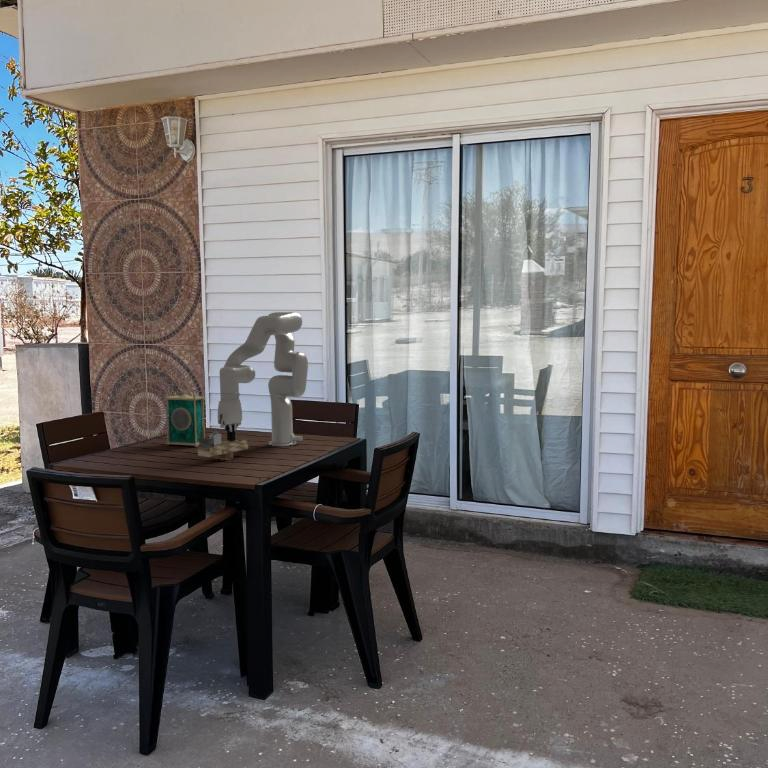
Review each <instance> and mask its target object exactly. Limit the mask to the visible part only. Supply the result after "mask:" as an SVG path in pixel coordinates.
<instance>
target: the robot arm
mask: <svg viewBox="0 0 768 768" xmlns="http://www.w3.org/2000/svg"><path fill="white" fill-rule="evenodd" d="M302 325H303V318H302V316H301V314H299V312H295V311H281V312H280V311H277V312H271V313H269V314H267V315H262V316H259V317H257V318H256V320H255V322H254V324H253V326H252V328H251V330H250V331H249V334H248V336H247V338H246V340H245V342H244V343H243V344H242V345H240V346H239V347H237V348H236V349H235V350H234V351H232V353H231V354H230V355H229V356H228V358H227V359H226V361H225V363H224V366H223V367H221V368H220V369H219V392H220V393H219V395H220V400H219V401H218V405H217V425H218V424H219V427H220V429H224V430H225V431H226V435H227V436H226V440H227V441H235V440H236V431H237V428H238V427H239V426H241V425H242V422H243V409H242V403H241V399H240V396H241V393H240V392H239V391H240V389H239V388H240V386H239V384H250V383H251V382H253V380H254V379H255V378H256V371H255V368H254V367H252V366H250V365H245V364H244V365H243V363H244V362H245V361H247V360H248V359H250V358H253V357H256V356H258V355H260V354H261V353H263V352H264V350H265V348H266V346H267V344H268V341H269V340H270V338H271V336H274V338H275V339H274V340H275V349H274V350H275V351H274V359H273V367H274V370H275V371H277V372H279V373H291V375H287V374H286V375H285V374H280V375H279V374H276V375H274V376H272V377H271V378H270V379H269V381H268V383H267V386H268V387H267V388H268V393H269V397H270V405H271V406H270V408H271V409H270V413H271V416H270V417H271V418H270V419H271V420H270V421H271V440H270V441H268V445H269V446H271V445H272V446H271V447H291V446H295V445H297V441H303V436H302V435H295V433H294V429H293V424H294V423H293V404H292V400H291V399H290V398H299V397H302V396H303V395H305V394H304V393H305V392H306V389H307V380H308V370H309V362H308V358H307V355H306V354H305V353H304V352H301V351H295V337H294V336H293V334H292V333H296V332H298V331H299V330H300V329H301V328H302ZM290 445H291V446H290Z"/></svg>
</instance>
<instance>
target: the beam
mask: <svg viewBox="0 0 768 768" xmlns="http://www.w3.org/2000/svg"><path fill="white" fill-rule="evenodd" d="M248 449H249V440H247V439H239V438H235V441H228V440H227V441H221V445H219V446H214V447H212V439H210V437H209V438H208V437H205V438H199V445H198V447H197V456H198V457H205V458H210V457H211V458H212V457H214V458H215V459H214V460H217V459H221V460H220V461H223V460H228V461H231V459H233V460H234V453H235V452H238V451H244V450H248Z"/></svg>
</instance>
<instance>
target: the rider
mask: <svg viewBox="0 0 768 768" xmlns="http://www.w3.org/2000/svg"><path fill="white" fill-rule="evenodd" d="M209 439H212V447H214V446H219V445H221V442H222V433H219V431H212V434H211V433H210V434H209Z"/></svg>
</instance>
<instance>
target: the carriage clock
mask: <svg viewBox="0 0 768 768" xmlns="http://www.w3.org/2000/svg"><path fill="white" fill-rule="evenodd" d="M184 381H185V382H186V384H187V385H188V388H187V390H182V389H181V383H182V382H184ZM190 387H191V385H190V383H189V382H188V380H186V379H183V380H180V382H179V384H178V388H179V390H180V391H181V392H182V393H183V394H182V395H177V392H175V391H174V392H173V395H170V396H168V393H165V394H164V396H165V397H163V399H164V400H165V411H166V412H165V414H166V416H165V417H166V436H167V437H166V441H165V445H166V446H167V445H179V446H180V445H181V446H194V448H195V447H197V448H198V447H199V438H206V434H205V433H206V432H205V431H206V430H205V429H206V427H205V399H206V396H204V395H205V393H204V392H202V393H201V396H196V394H193V396H192V395H188V394H186V393H187V392H188V391H189V390H190Z"/></svg>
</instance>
